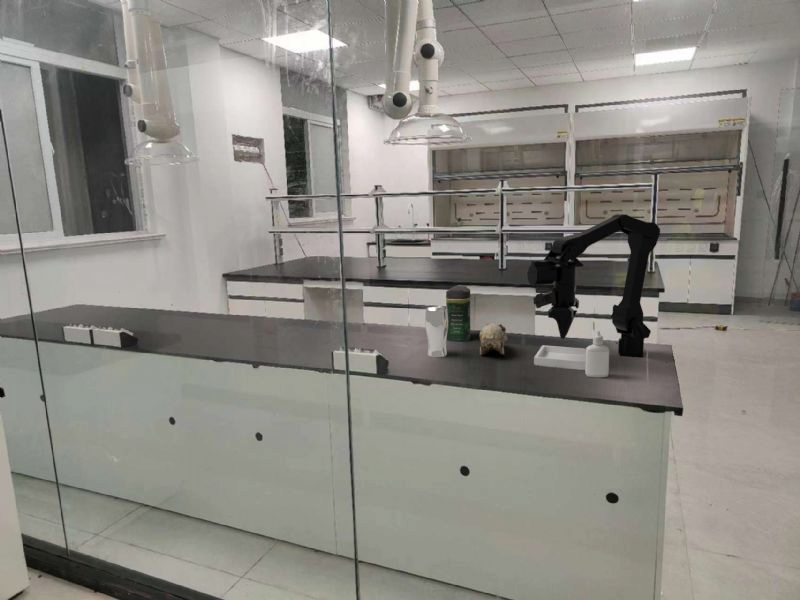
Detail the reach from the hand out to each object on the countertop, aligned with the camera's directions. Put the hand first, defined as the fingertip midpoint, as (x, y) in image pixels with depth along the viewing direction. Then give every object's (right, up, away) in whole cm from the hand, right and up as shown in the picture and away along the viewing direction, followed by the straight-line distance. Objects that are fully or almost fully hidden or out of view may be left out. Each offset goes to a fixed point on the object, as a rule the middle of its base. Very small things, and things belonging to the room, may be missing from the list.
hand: (563, 337), depth 155 cm
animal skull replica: (-18, -6, +11) cm, 22 cm away
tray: (0, -7, +1) cm, 7 cm away
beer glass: (-36, -7, +10) cm, 37 cm away
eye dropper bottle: (+5, -10, -13) cm, 17 cm away
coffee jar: (-27, -3, +28) cm, 39 cm away
